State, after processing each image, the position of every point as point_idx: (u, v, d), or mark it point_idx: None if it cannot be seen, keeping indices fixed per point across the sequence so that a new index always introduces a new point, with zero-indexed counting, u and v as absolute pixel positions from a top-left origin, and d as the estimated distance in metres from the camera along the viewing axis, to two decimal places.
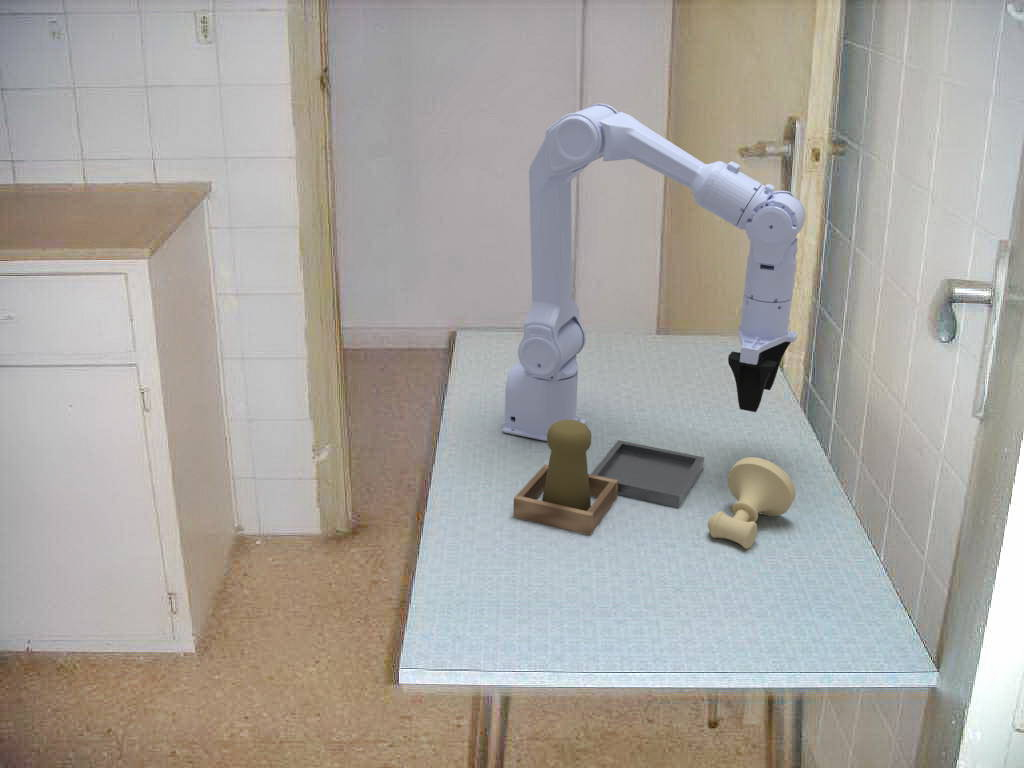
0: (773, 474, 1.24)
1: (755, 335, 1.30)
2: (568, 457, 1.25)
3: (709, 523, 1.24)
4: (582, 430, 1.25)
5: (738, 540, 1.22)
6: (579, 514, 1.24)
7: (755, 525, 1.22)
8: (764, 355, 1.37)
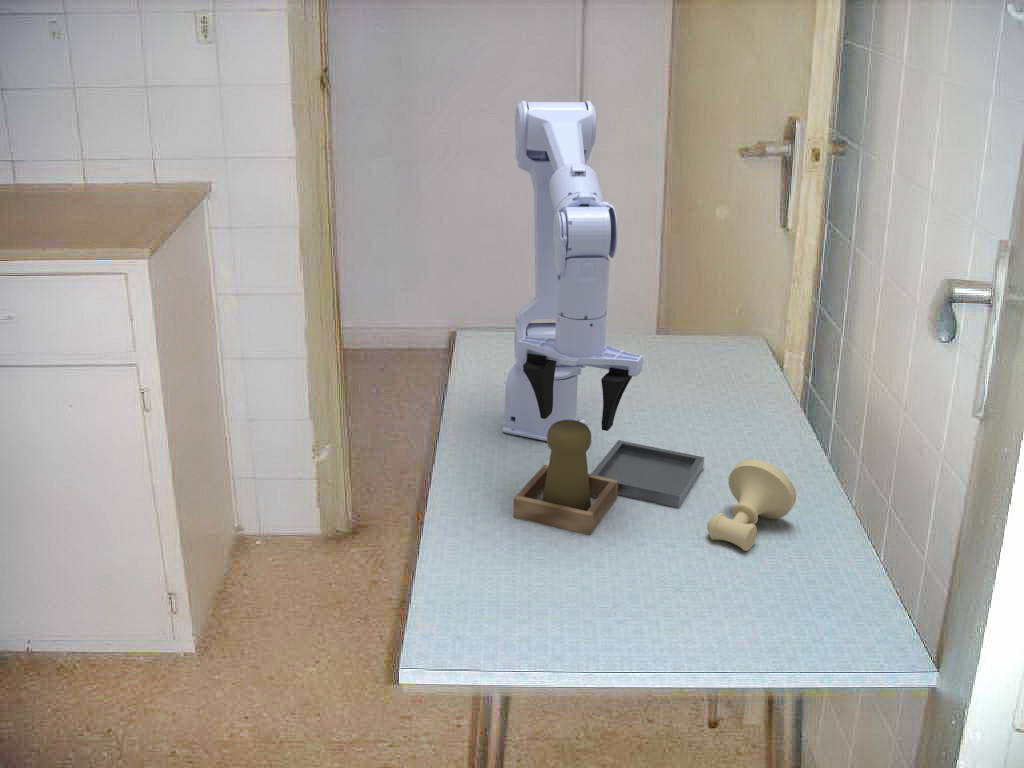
0: (773, 476, 1.24)
1: None
2: (568, 457, 1.25)
3: (708, 525, 1.23)
4: (582, 430, 1.25)
5: (737, 542, 1.21)
6: (579, 514, 1.24)
7: (754, 527, 1.21)
8: None
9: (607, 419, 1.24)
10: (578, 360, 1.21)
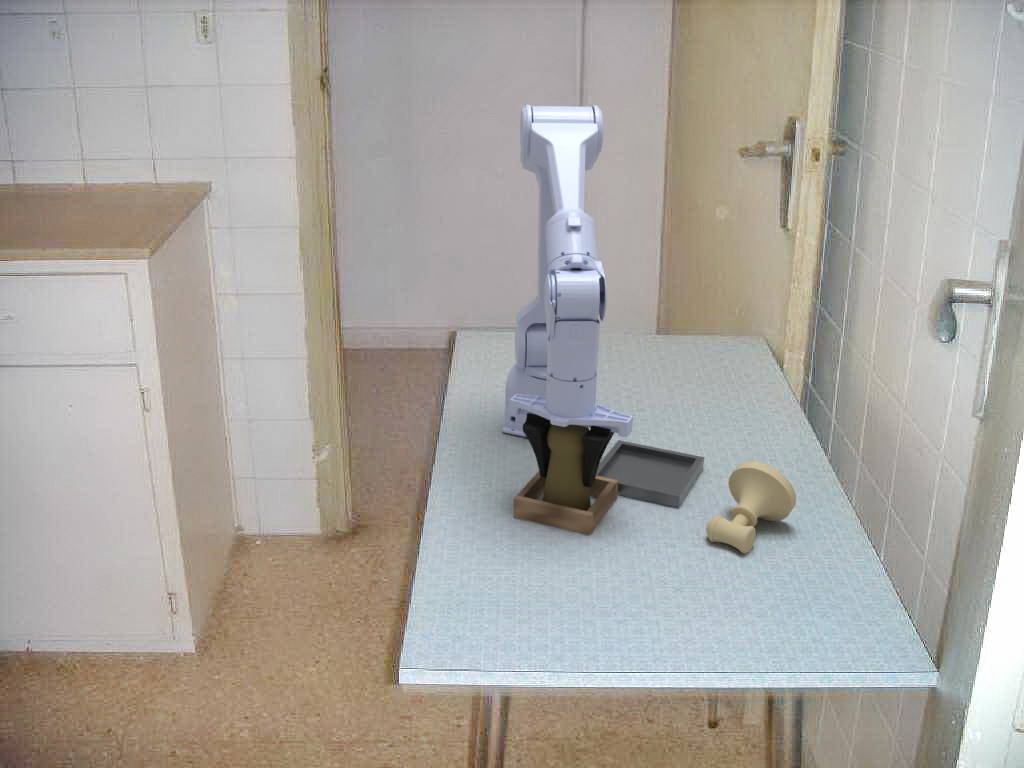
0: (773, 479, 1.23)
1: None
2: (568, 457, 1.25)
3: (707, 527, 1.23)
4: (582, 430, 1.25)
5: (736, 544, 1.21)
6: (579, 514, 1.24)
7: (753, 530, 1.21)
8: None
9: (589, 476, 1.25)
10: (568, 421, 1.22)
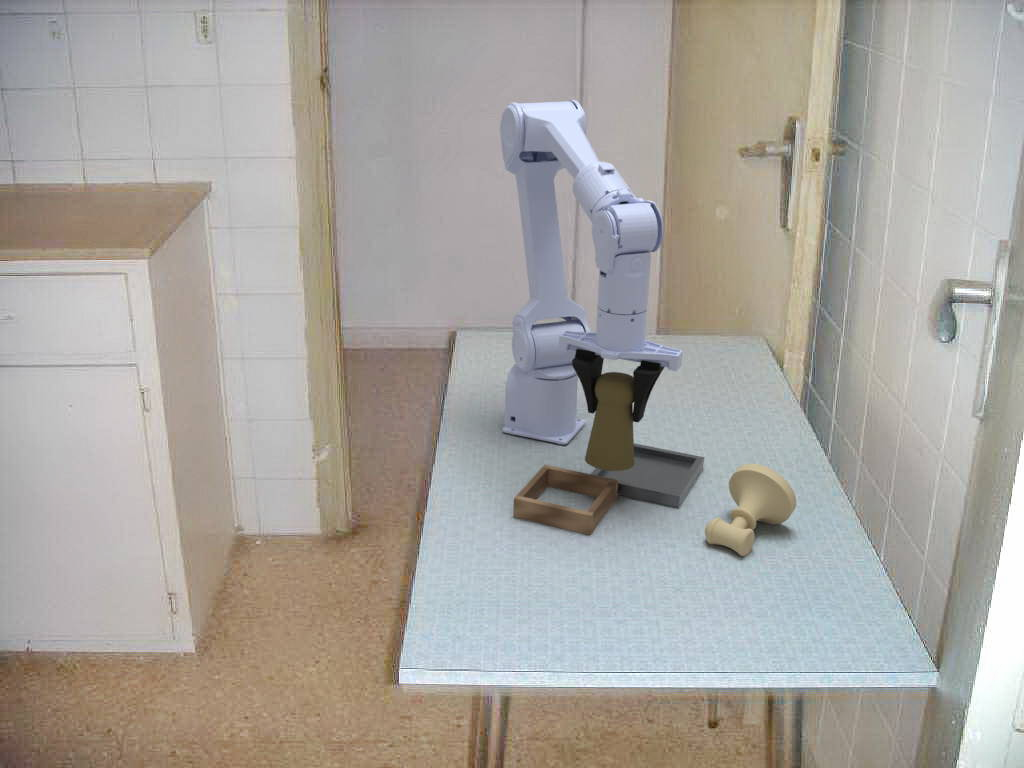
0: (773, 481, 1.23)
1: None
2: (615, 406, 1.27)
3: (706, 529, 1.22)
4: (630, 380, 1.27)
5: (734, 547, 1.20)
6: (579, 514, 1.24)
7: (752, 532, 1.20)
8: None
9: (638, 411, 1.27)
10: (619, 354, 1.23)
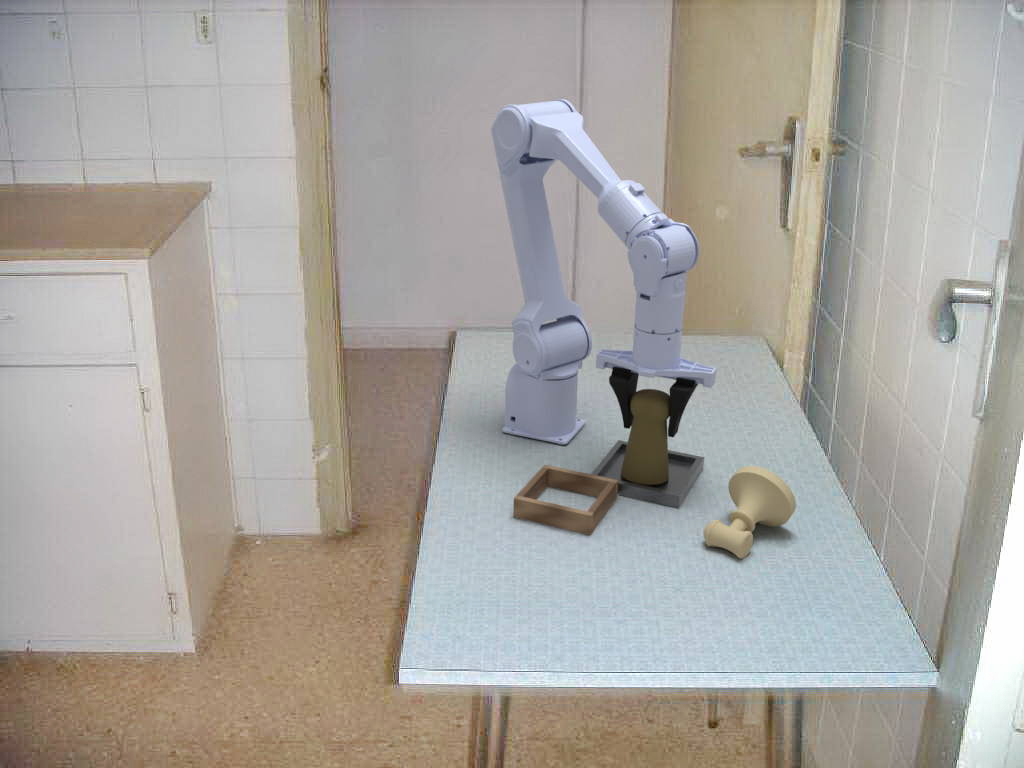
0: (772, 484, 1.22)
1: None
2: (651, 422, 1.31)
3: (704, 531, 1.22)
4: (665, 397, 1.31)
5: (732, 549, 1.20)
6: (579, 514, 1.24)
7: (750, 535, 1.20)
8: None
9: (673, 426, 1.32)
10: (656, 372, 1.28)
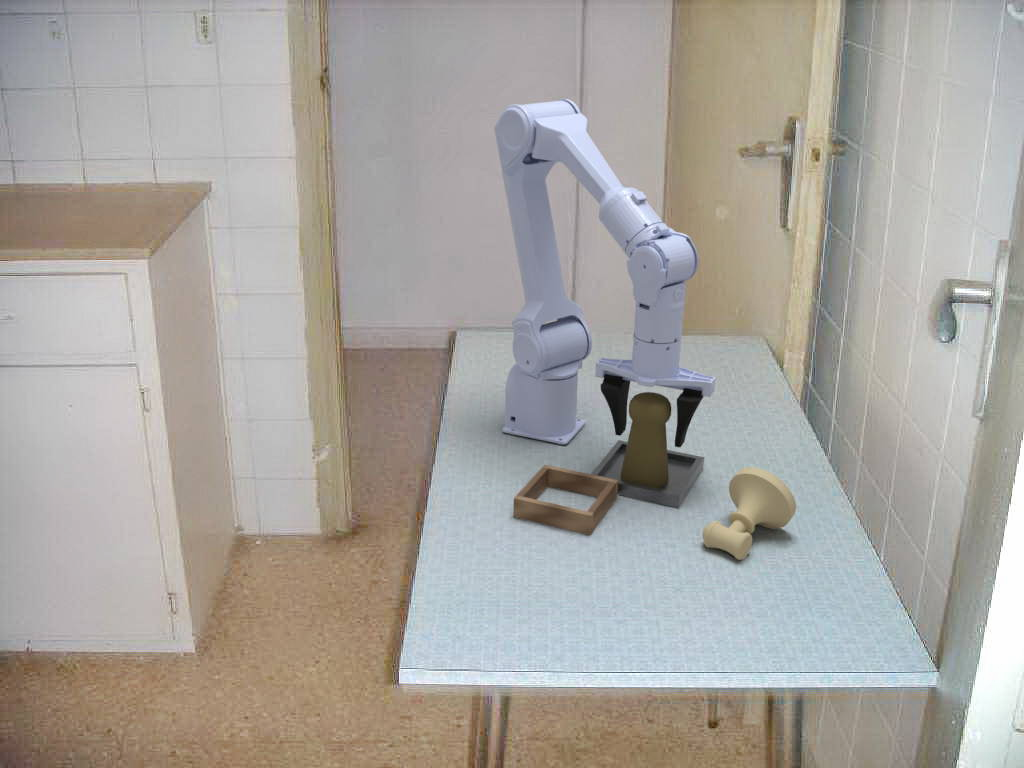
0: (772, 485, 1.22)
1: None
2: (649, 427, 1.31)
3: (703, 532, 1.22)
4: (663, 401, 1.31)
5: (731, 550, 1.19)
6: (579, 514, 1.24)
7: (749, 536, 1.20)
8: None
9: (680, 436, 1.32)
10: (655, 381, 1.29)
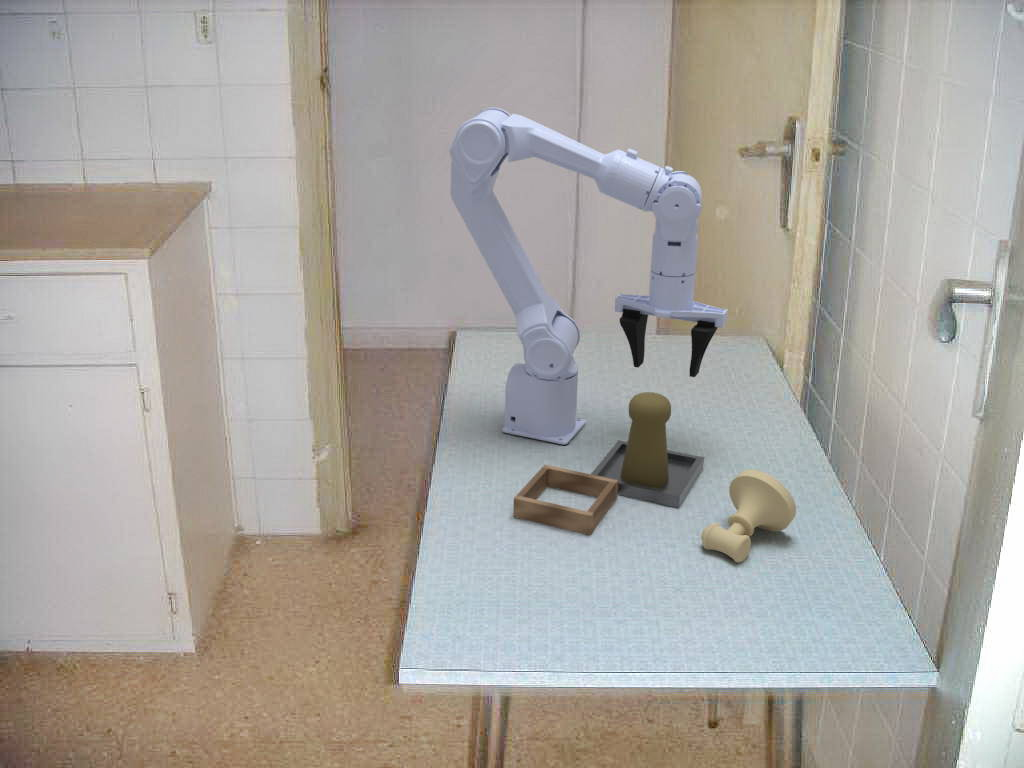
0: (772, 488, 1.21)
1: None
2: (649, 427, 1.31)
3: (702, 534, 1.21)
4: (663, 402, 1.31)
5: (729, 553, 1.19)
6: (579, 514, 1.24)
7: (748, 539, 1.19)
8: None
9: (695, 366, 1.40)
10: (670, 313, 1.37)
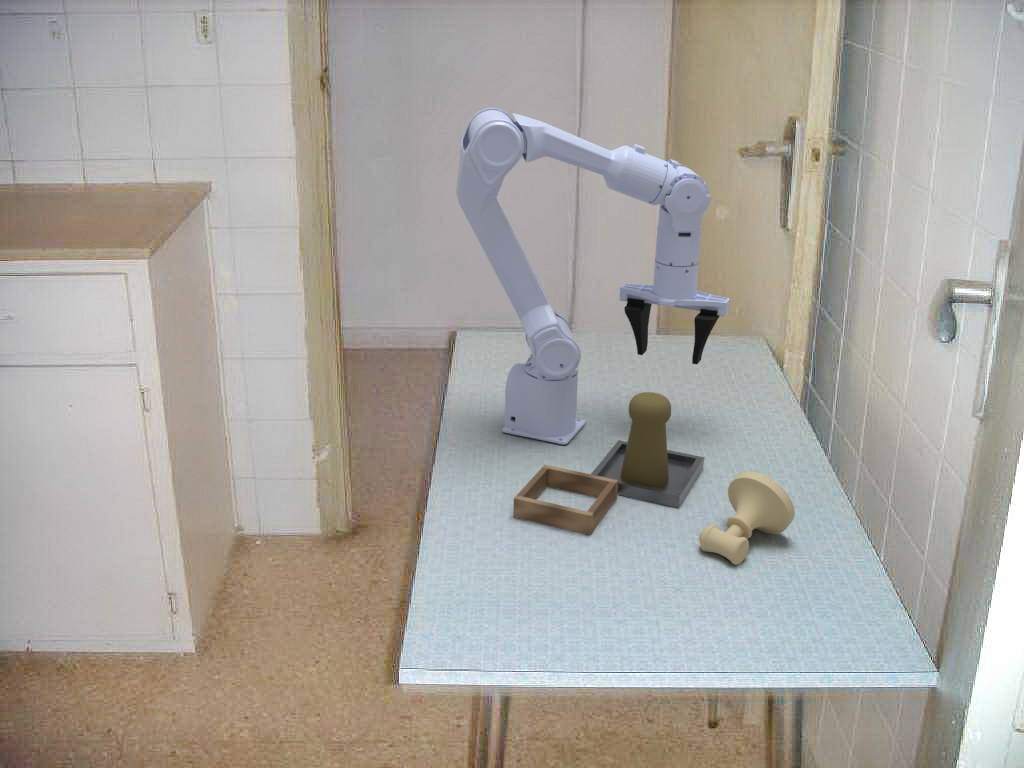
0: (770, 490, 1.21)
1: None
2: (649, 427, 1.31)
3: (700, 536, 1.21)
4: (663, 401, 1.31)
5: (727, 555, 1.19)
6: (579, 514, 1.24)
7: (746, 541, 1.19)
8: None
9: (697, 354, 1.44)
10: (675, 302, 1.41)
